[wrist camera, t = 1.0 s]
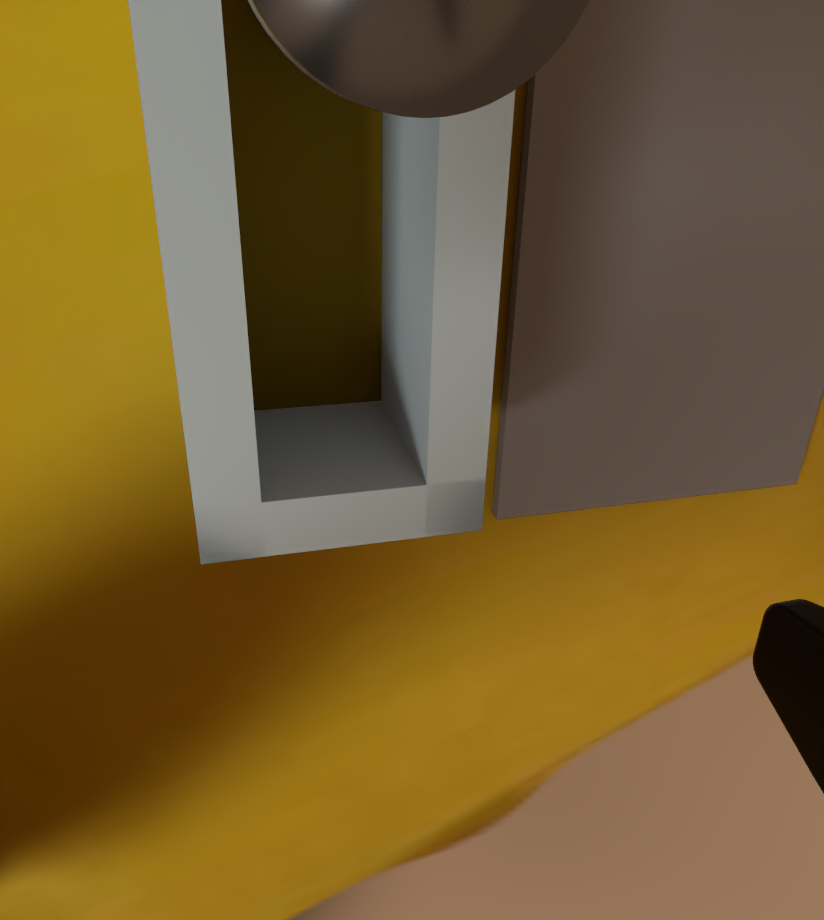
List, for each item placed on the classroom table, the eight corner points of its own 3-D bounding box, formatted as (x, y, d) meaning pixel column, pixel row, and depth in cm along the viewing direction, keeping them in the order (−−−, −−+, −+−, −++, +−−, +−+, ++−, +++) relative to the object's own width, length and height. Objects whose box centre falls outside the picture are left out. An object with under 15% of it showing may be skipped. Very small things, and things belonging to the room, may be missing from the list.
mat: (788, 477, 25) (796, 484, 24) (492, 512, 22) (496, 519, 22) (967, -149, 17) (983, -153, 17) (550, -192, 15) (558, -197, 15)
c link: (428, 441, 21) (481, 530, 17) (198, 461, 19) (200, 564, 16) (450, -168, 15) (540, -244, 11) (119, -198, 13) (90, -297, 10)
